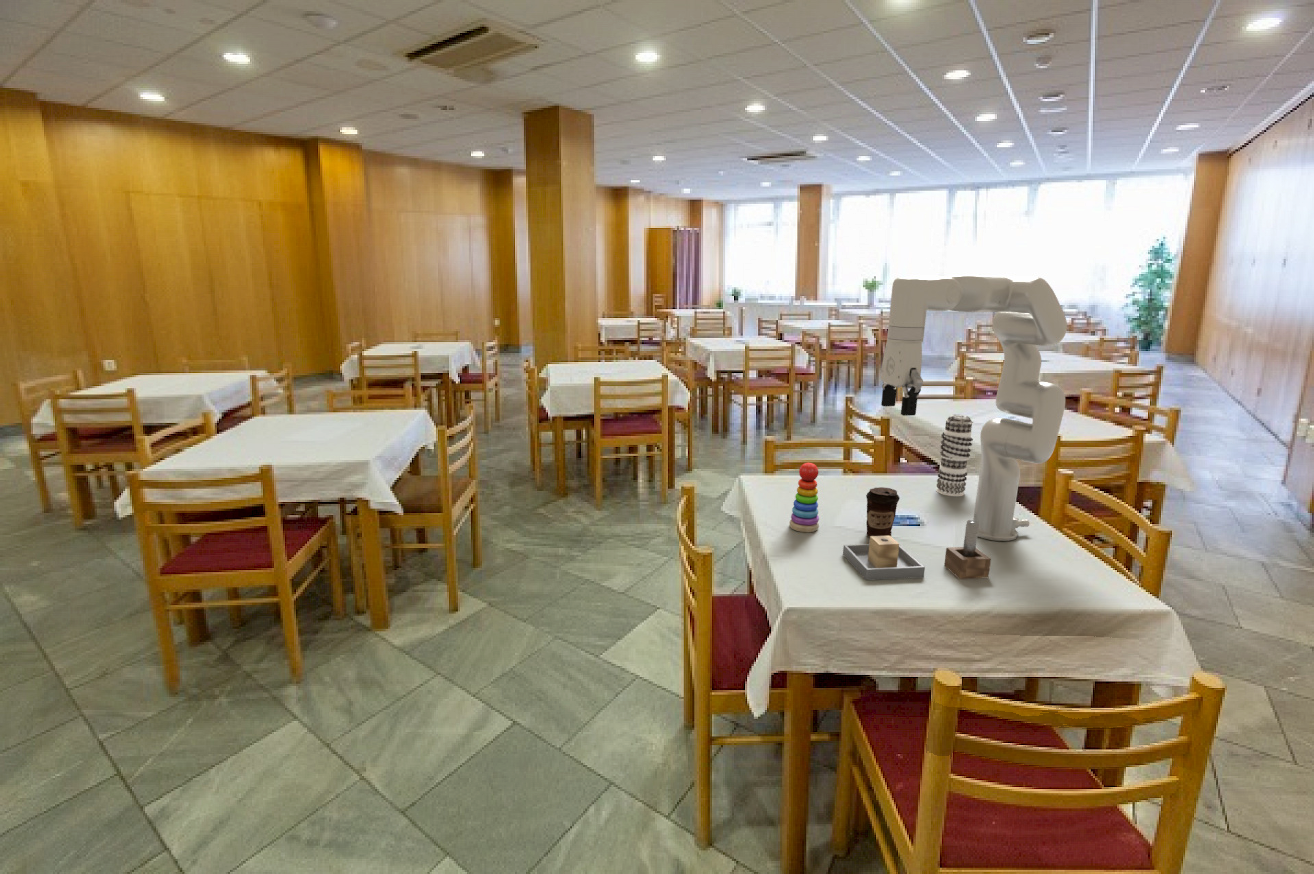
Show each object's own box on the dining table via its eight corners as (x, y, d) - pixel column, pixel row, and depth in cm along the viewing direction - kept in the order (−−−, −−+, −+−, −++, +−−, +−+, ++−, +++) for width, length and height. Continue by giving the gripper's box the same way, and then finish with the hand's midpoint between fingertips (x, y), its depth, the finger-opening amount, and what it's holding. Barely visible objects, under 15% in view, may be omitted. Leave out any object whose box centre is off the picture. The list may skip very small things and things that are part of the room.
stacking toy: (783, 528, 183) (787, 462, 178) (798, 520, 189) (802, 456, 184) (809, 535, 178) (814, 468, 173) (823, 527, 184) (828, 462, 179)
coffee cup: (897, 544, 173) (902, 497, 169) (864, 541, 174) (868, 494, 171) (892, 531, 181) (897, 486, 178) (861, 529, 183) (865, 484, 179)
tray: (896, 552, 168) (897, 542, 167) (923, 577, 155) (925, 567, 154) (842, 554, 166) (843, 544, 166) (866, 579, 153) (867, 569, 152)
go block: (971, 565, 162) (973, 546, 160) (988, 578, 155) (991, 558, 154) (944, 566, 161) (946, 547, 160) (959, 579, 154) (962, 559, 153)
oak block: (887, 558, 163) (889, 535, 162) (896, 567, 158) (899, 543, 157) (867, 559, 163) (870, 536, 161) (876, 568, 158) (879, 544, 156)
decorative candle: (931, 492, 213) (940, 416, 207) (939, 485, 220) (948, 411, 214) (961, 498, 208) (971, 420, 201) (968, 491, 215) (978, 415, 208)
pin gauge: (968, 566, 159) (975, 519, 156) (974, 571, 157) (981, 524, 154) (958, 567, 159) (964, 520, 156) (964, 572, 156) (970, 524, 153)
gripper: (872, 330, 155) (866, 403, 159) (908, 338, 138) (899, 419, 142) (903, 330, 155) (896, 402, 160) (942, 338, 139) (932, 418, 143)
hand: (897, 410), depth 151 cm, fingers open, 9 cm apart
